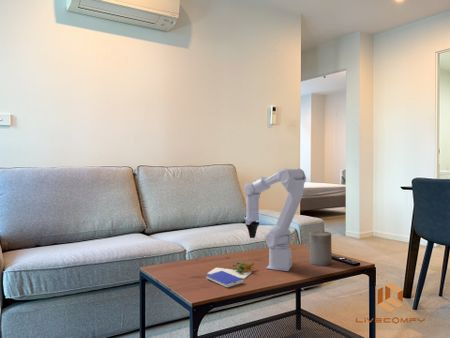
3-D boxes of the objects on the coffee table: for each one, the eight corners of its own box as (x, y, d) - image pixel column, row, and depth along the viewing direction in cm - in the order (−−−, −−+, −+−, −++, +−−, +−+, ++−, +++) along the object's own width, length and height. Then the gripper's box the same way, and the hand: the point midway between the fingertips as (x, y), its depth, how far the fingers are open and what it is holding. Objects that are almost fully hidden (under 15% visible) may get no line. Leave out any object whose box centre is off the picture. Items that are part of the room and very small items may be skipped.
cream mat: (251, 272, 150) (251, 271, 150) (244, 279, 141) (244, 278, 141) (216, 268, 156) (216, 267, 156) (207, 274, 147) (207, 273, 147)
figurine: (228, 266, 149) (244, 269, 144) (245, 258, 158) (260, 261, 153) (228, 273, 149) (244, 277, 144) (245, 265, 158) (261, 268, 153)
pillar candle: (327, 260, 170) (327, 228, 170) (334, 265, 160) (334, 231, 160) (307, 260, 170) (306, 228, 169) (312, 266, 160) (312, 232, 160)
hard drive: (206, 274, 141) (226, 283, 131) (222, 270, 146) (243, 278, 136) (206, 278, 141) (226, 287, 131) (222, 274, 146) (243, 282, 136)
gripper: (249, 206, 178) (249, 234, 178) (239, 210, 164) (239, 240, 165) (263, 207, 175) (263, 235, 175) (254, 210, 162) (253, 241, 162)
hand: (252, 237), depth 170 cm, fingers closed
